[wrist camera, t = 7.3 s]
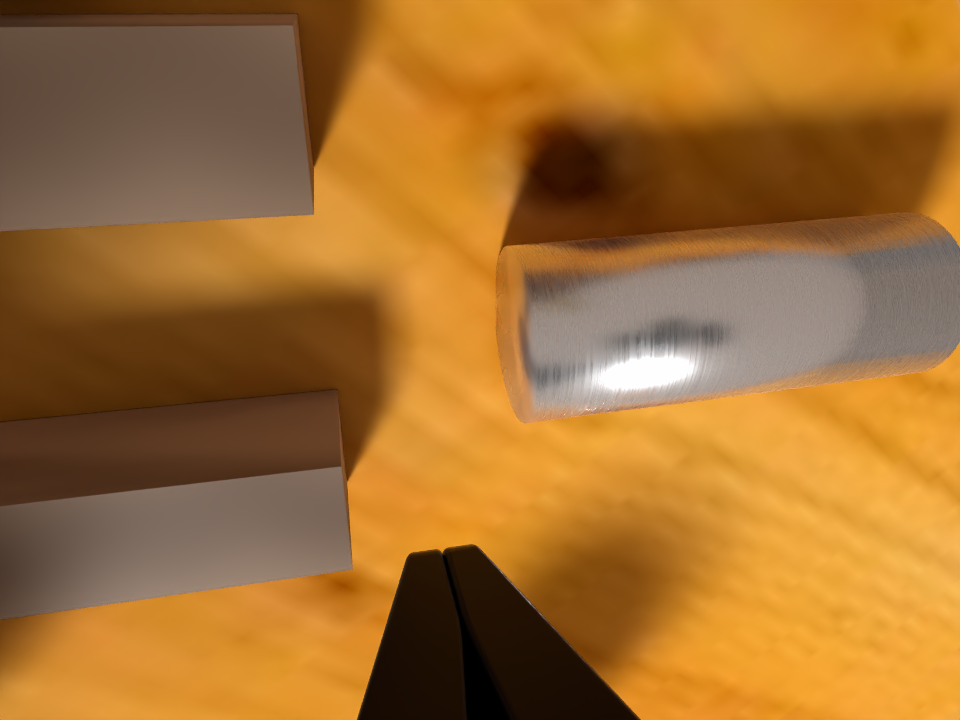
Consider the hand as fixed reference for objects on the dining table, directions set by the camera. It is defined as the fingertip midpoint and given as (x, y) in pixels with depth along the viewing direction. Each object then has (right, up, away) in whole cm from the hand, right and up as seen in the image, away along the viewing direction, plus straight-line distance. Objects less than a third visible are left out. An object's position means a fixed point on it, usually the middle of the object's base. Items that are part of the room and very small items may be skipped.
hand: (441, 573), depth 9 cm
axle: (+6, +4, +8) cm, 11 cm away
